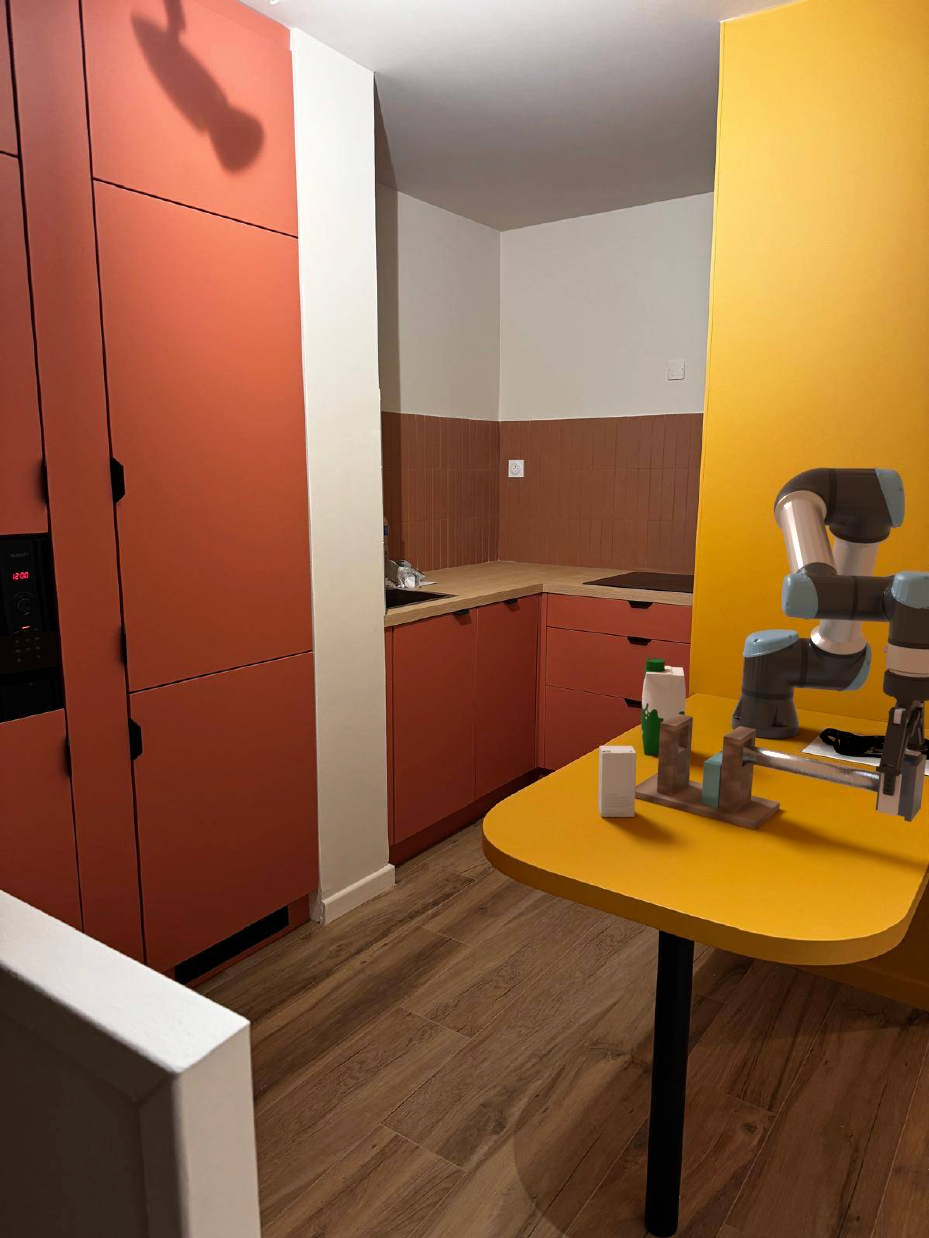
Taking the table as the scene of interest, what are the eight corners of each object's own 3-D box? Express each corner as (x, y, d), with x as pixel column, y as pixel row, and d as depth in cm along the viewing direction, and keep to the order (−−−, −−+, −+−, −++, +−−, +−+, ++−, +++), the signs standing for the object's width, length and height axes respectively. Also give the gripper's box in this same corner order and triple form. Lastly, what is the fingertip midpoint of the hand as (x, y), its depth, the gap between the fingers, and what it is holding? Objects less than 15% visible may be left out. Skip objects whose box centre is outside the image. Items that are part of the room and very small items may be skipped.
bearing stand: (629, 795, 163) (632, 721, 160) (657, 778, 172) (661, 707, 170) (755, 829, 148) (761, 748, 146) (779, 808, 158) (785, 731, 155)
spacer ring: (701, 804, 156) (703, 761, 155) (718, 791, 162) (721, 750, 161) (717, 808, 154) (720, 765, 153) (734, 795, 161) (737, 753, 159)
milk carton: (639, 742, 194) (644, 655, 190) (681, 745, 192) (686, 657, 189) (639, 755, 186) (644, 664, 182) (683, 758, 184) (688, 666, 180)
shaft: (727, 778, 153) (730, 729, 151) (742, 767, 158) (745, 720, 157) (911, 821, 135) (917, 766, 133) (920, 808, 140) (926, 755, 139)
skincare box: (630, 808, 157) (633, 744, 155) (635, 818, 153) (638, 752, 150) (596, 808, 157) (598, 744, 155) (599, 818, 153) (602, 752, 151)
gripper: (903, 654, 147) (891, 773, 151) (864, 682, 128) (851, 818, 132) (953, 661, 143) (939, 783, 147) (920, 691, 123) (905, 831, 127)
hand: (897, 800), depth 139 cm, fingers open, 13 cm apart
